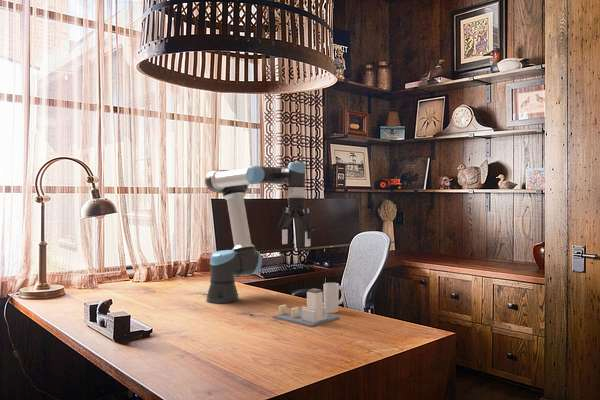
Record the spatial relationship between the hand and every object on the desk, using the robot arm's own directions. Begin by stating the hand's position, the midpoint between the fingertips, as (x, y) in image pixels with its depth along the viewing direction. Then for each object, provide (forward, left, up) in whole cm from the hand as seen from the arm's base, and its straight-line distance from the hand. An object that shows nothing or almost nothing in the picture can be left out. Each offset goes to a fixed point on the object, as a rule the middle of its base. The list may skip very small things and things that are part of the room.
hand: (296, 245), depth 218 cm
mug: (+14, +10, -29) cm, 34 cm away
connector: (+20, -10, -28) cm, 35 cm away
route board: (+13, -8, -29) cm, 32 cm away
